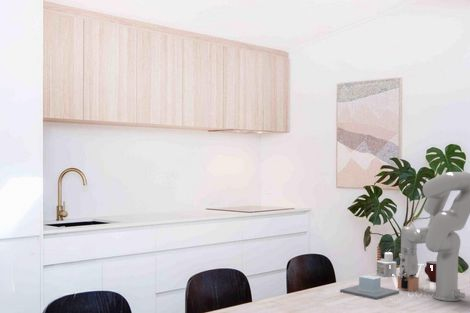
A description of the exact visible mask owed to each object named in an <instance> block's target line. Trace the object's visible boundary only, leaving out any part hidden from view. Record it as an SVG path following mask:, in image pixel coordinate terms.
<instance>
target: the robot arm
mask: <svg viewBox="0 0 470 313" xmlns="http://www.w3.org/2000/svg"><path fill="white" fill-rule="evenodd" d="M452 191H453V192H454V191H459V193H458V194H457V195H456V197H455V198H454V200H453V201H452V203H451V204H452V205H451V206H450V208H449V209H448V210H444V208H445V206H446V203H447V202H448V199H449V198H450V194H451V193H452ZM422 193H423V194H422V195H424V197H426V198H427V199H426V201H425V203H424V205H423V210H424V211H425V212H426V213H427V214H429V218H430V219H429V222H428V224H427V226H425V227H415V226H409V225H408V226H407V225H405V226H402V227H401V228H400V229H401V230H400V262H399V263H400V264H399V274H398V275H399V276H400V278H401V288H404V289H408V281H407V278H408V276H413V277H417V276H416V275H417V274H418V272H419V264H418V255H417V253H418V252H417V249H418V247H417V246H418V245H419V244H425V247H426V249H427V250H428V251H429V252H433V253H437V255H436V282H435V292H434V293H432V294H431V295H432V296H431V297H432V298H433V299H435V300H438V301H444V302H458V301H460V300H462V299H466V296H467V295H466V293H465V292H460V288H459V287H458V286H459V284H458V277H459V275H458V273H459V254H460V248H461V237H460V235H459V234H458V232H457V231H461V230H463V229H464V228H465V226H466V224H467V221H468V219H469V217H470V172H467V171H447V172H444V173H442V174H439V175H438V176H435V177H433V178H431V179H429V180H427V181H426V182H425V183H424V184H423V186H422ZM405 276H406V277H405ZM458 288H459V289H458Z"/></svg>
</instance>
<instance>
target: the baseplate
mask: <svg viewBox="0 0 470 313" xmlns="http://www.w3.org/2000/svg"><path fill="white" fill-rule="evenodd" d="M339 291H340V293H342V292H343V294H348V295H353V296H356V297H357V296H358V297H361V298H367V299H371V300H376V301H377V300H380V299H384V298H387V297H391V296H395V295H398V294H400V290H399V289H398V290H397V289H392V288H387V287H381V286H380V290H379V291H376V292H370V291H366V290H361V289H359V284H358V285H353V286H349V287H346V288H340V290H339Z"/></svg>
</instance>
